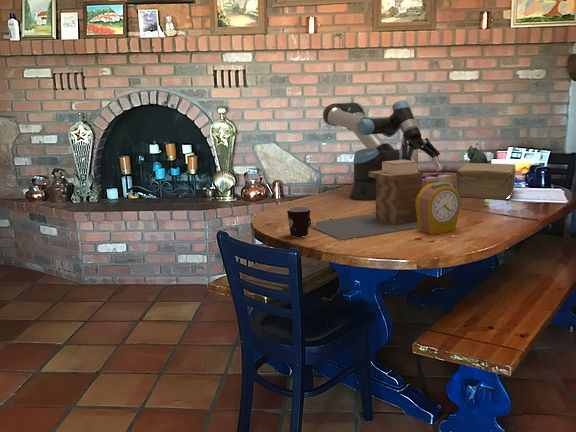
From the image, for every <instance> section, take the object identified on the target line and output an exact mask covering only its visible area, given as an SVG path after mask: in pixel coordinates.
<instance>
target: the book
mask: <svg viewBox="0 0 576 432" xmlns="http://www.w3.org/2000/svg"><path fill="white" fill-rule="evenodd" d="M417 170H418V167H417V162H416V161H410V160H394V161H384V162H382V172H386V173H391V174H401V173H410V172H417Z"/></svg>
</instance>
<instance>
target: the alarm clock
mask: <svg viewBox="0 0 576 432" xmlns="http://www.w3.org/2000/svg"><path fill="white" fill-rule="evenodd" d="M461 201H462V200H461V196H459V194H458V192H457V189H455V187H454V188H452V187H450V184H448V183H443V182H437V183H431V184H428V185H426V186H424V187H423V188H422V189H421V190H420V192H419V194H418V195H417V198H416V203H415V206H416V214H417V223H418V228H417V229H418V231H421V232H423V233H427V234H428V235H429V234H430V235H432V234H433V235H434V234H441V233H448V232H454V231H456V229H457V225H458V219H459V213H460V208H461Z"/></svg>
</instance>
